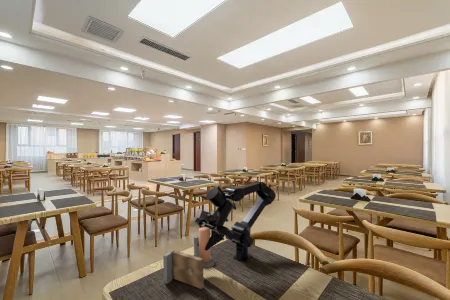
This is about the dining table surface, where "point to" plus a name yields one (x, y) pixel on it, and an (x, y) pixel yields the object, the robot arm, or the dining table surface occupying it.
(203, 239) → the door stop
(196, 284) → the door
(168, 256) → the door frame
